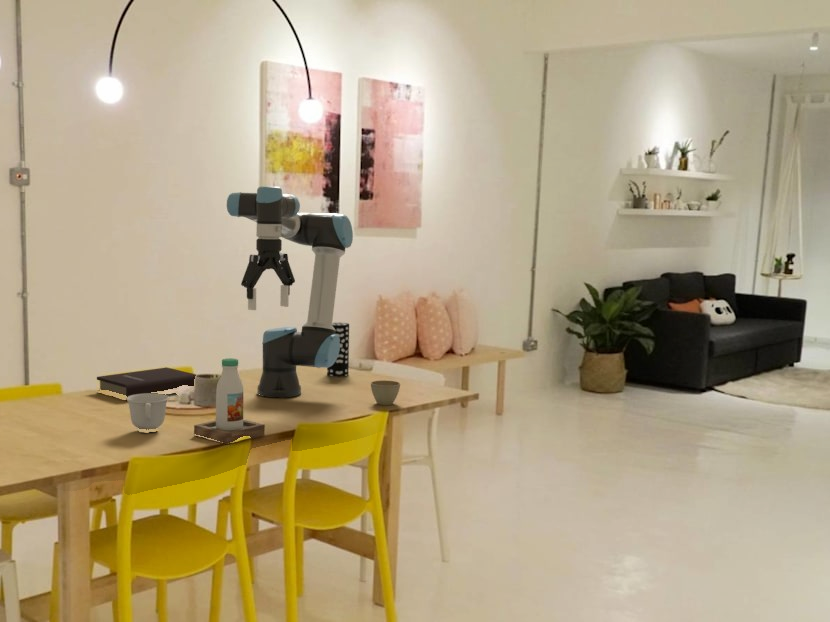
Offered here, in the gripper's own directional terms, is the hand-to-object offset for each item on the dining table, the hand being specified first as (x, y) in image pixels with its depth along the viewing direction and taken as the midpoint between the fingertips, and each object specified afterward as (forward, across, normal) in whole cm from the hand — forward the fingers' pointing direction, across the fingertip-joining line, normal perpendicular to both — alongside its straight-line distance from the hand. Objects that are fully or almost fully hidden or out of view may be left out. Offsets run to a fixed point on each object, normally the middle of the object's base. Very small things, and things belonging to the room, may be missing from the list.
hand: (268, 308), depth 284 cm
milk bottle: (+33, -21, -6) cm, 39 cm away
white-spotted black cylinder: (+35, +71, +34) cm, 86 cm away
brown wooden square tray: (+35, -21, -6) cm, 41 cm away
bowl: (+35, +43, -12) cm, 57 cm away
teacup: (+35, -34, +14) cm, 51 cm away
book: (+35, +2, +60) cm, 70 cm away
